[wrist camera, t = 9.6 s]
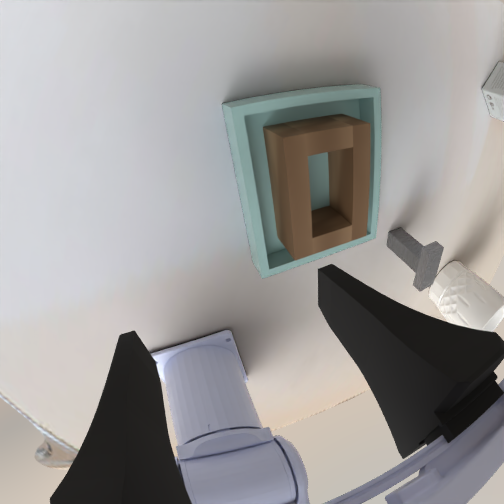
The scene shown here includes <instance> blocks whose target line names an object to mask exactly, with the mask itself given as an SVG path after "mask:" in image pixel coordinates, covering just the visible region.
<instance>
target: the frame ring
mask: <svg viewBox="0 0 504 504" xmlns="http://www.w3.org/2000/svg"><path fill="white" fill-rule="evenodd" d="M263 133H264V140H265V147H266V154H267V161H268V169H269V176H270V183H271V191H272V199H273V206H274V214H275V222H276V230H277V237H278V239H279V240H280V241H281V243H282V244H283V245H284V247H285V248H286V249H287V251H288V252H289V253H290V255H291V256H292V257H293V259H294V260H295V261H296V260H299V259H302V258H304V257H307V256H310V255H313V254H316V253H319V252H322V251H325V250H328V249H330V248H333V247H336V246H339V245H342V244H345V243H348V242H350V241H353V240H356V239H359V238H362V237H364V236H366V235H367V223H368V208H369V188H370V123H368V122H365V121H363V120H360V119H357V118H354V117H351V116H348V115H345V114H335V115H328V116H321V117H314V118H308V119H302V120H296V121H291V122H285V123H280V124H275V125H270V126H265V127H263ZM326 152H328V169H329V203H330V206H326V207H323V208H319V209H316V210H312V211H311V198H310V182H309V167H308V156H311V155H316V154H321V153H326Z"/></svg>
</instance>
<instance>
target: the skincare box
mask: <svg viewBox="0 0 504 504" xmlns="http://www.w3.org/2000/svg"><path fill="white" fill-rule="evenodd" d="M482 91H483V94H484V97H485V100H486V103H487V106H488V109H489V113H490V116H491V117H493V118H496V119H498V120H501V121H503V122H504V62H500V61H499V62H498V64H497V66H496V67H495V69H494V71H493V72H492V74H491V75H490V77H489V79H488V80H487V82H486V83H485V85H484V86H483V88H482Z"/></svg>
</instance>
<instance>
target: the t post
mask: <svg viewBox="0 0 504 504" xmlns="http://www.w3.org/2000/svg"><path fill="white" fill-rule="evenodd" d="M387 247H389V248H390V249H391V250H392V251H393V252H394V253H395V254H396V255H397V256H398V257H399V258H401V259H402V260H403V261H404V262H405V263H406V264H407V265H408V266H409V267H410V268H411V269H412V270H413V271H414V272H415V273H416V275H415V279H414V283H413V285H414V286H415V287H416V288H417V289H418V290H419V291H422V290H424V289H425V288H427V287H429V286H431V285H433V283H434V280H435V277H436V273H437V270H438V267H439V263H440V260H441V256H442V252H443V249H444V247H443V246H442V245H440V244H439V243H438V242H437V241H435V242H433V243H431V244H428V245H426V246H423V245H422V244H421V243H419V242H418V241H417V240H416V239H414V238H413V237H412V236H411V235H410V234H408V233H407V232H406V231H405V230H403V229H402V228H398V229H396V230H393V231H391V232H389V234H388V241H387Z"/></svg>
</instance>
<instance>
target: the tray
mask: <svg viewBox="0 0 504 504" xmlns="http://www.w3.org/2000/svg"><path fill="white" fill-rule="evenodd" d="M222 108H223V113H224V118H225V123H226V128H227V133H228V139H229V144H230V149H231V154H232V159H233V164H234V169H235V174H236V179H237V184H238V189H239V195H240V200H241V205H242V210H243V215H244V220H245V225H246V230H247V235H248V240H249V245H250V250H251V255H252V260H253V263H254V265H255V267H256V268H257V270H258V272H259V274H260V276H261V278H262V279H263V278H266V277H269V276H272V275H275V274H278V273H280V272H283V271H286V270H289V269H292V268H295V267H298V266H300V265H303V264H306V263H309V262H312V261H314V260H317V259H320V258H323V257H326V256H328V255H331V254H334V253H337V252H339V251H342V250H345V249H348V248H350V247H353V246H356V245H358V244H361V243H364V242H367V241H369V240H372V239H375V238H376V231H377V220H378V208H379V193H380V173H381V94H380V88H378V87H373V86H368V85H363V84H354V85H340V86H329V87H319V88H310V89H302V90H294V91H287V92H280V93H274V94H268V95H262V96H257V97H251V98H246V99H241V100H236V101H232V102H227V103H222ZM335 114H345V115H348V116H351V117H354V118H357V119H360V120H363V121H365V122H368V123H370V188H369V208H368V223H367V235H366V236H364V237H362V238H359V239H356V240H353V241H350V242H348V243H345V244H342V245H339V246H336V247H333V248H330V249H328V250H325V251H322V252H319V253H316V254H313V255H310V256H307V257H304V258H302V259H299V260H296V261H295V260H294V259H293V257H292V256H291V255H290V253H289V252H288V251H287V249H286V248H285V247H284V245H283V244H282V243H281V241H280V240H279V239H278V237H277V230H276V222H275V214H274V206H273V199H272V191H271V183H270V176H269V169H268V161H267V154H266V147H265V140H264V133H263V127H265V126H270V125H275V124H280V123H285V122H291V121H296V120H302V119H308V118H314V117H321V116H328V115H335ZM308 167H309V182H310V198H311V211H312V210H316V209H319V208H323V207H326V206H330V203H329V169H328V152H326V153H321V154H316V155H311V156H308Z"/></svg>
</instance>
